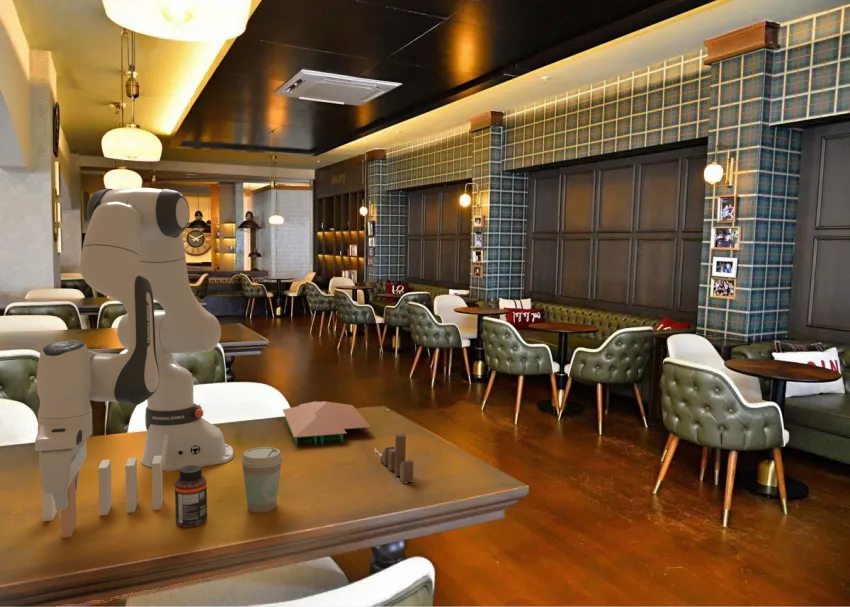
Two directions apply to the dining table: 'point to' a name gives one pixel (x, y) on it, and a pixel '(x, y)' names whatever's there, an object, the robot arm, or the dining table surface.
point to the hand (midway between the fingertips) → (67, 499)
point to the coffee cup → (261, 477)
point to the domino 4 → (157, 482)
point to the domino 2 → (104, 487)
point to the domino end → (48, 506)
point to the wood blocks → (398, 459)
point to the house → (322, 420)
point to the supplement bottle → (191, 497)
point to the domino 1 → (69, 513)
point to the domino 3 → (131, 485)
